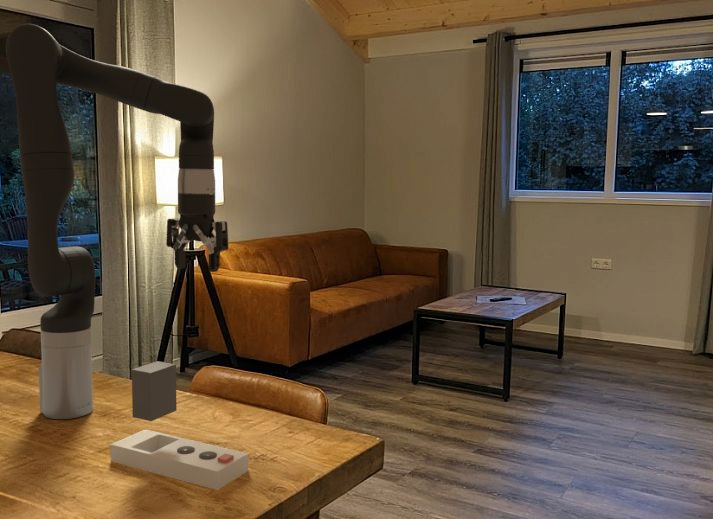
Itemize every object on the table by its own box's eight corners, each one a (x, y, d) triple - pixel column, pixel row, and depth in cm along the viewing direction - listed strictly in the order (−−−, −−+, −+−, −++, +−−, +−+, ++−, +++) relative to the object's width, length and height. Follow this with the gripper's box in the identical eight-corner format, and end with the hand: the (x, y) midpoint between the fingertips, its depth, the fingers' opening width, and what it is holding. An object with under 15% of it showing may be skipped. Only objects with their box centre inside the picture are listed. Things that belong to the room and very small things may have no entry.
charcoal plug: (132, 417, 113) (131, 369, 112) (158, 406, 119) (157, 361, 118) (151, 421, 112) (150, 372, 111) (176, 410, 117) (176, 364, 116)
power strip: (107, 460, 116) (106, 439, 115) (141, 444, 123) (141, 425, 122) (217, 490, 105) (217, 467, 105) (248, 471, 113) (248, 449, 112)
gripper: (157, 190, 142) (158, 269, 144) (213, 192, 136) (213, 274, 137) (181, 190, 149) (182, 265, 150) (236, 192, 142) (235, 270, 144)
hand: (197, 269), depth 144 cm, fingers open, 8 cm apart
